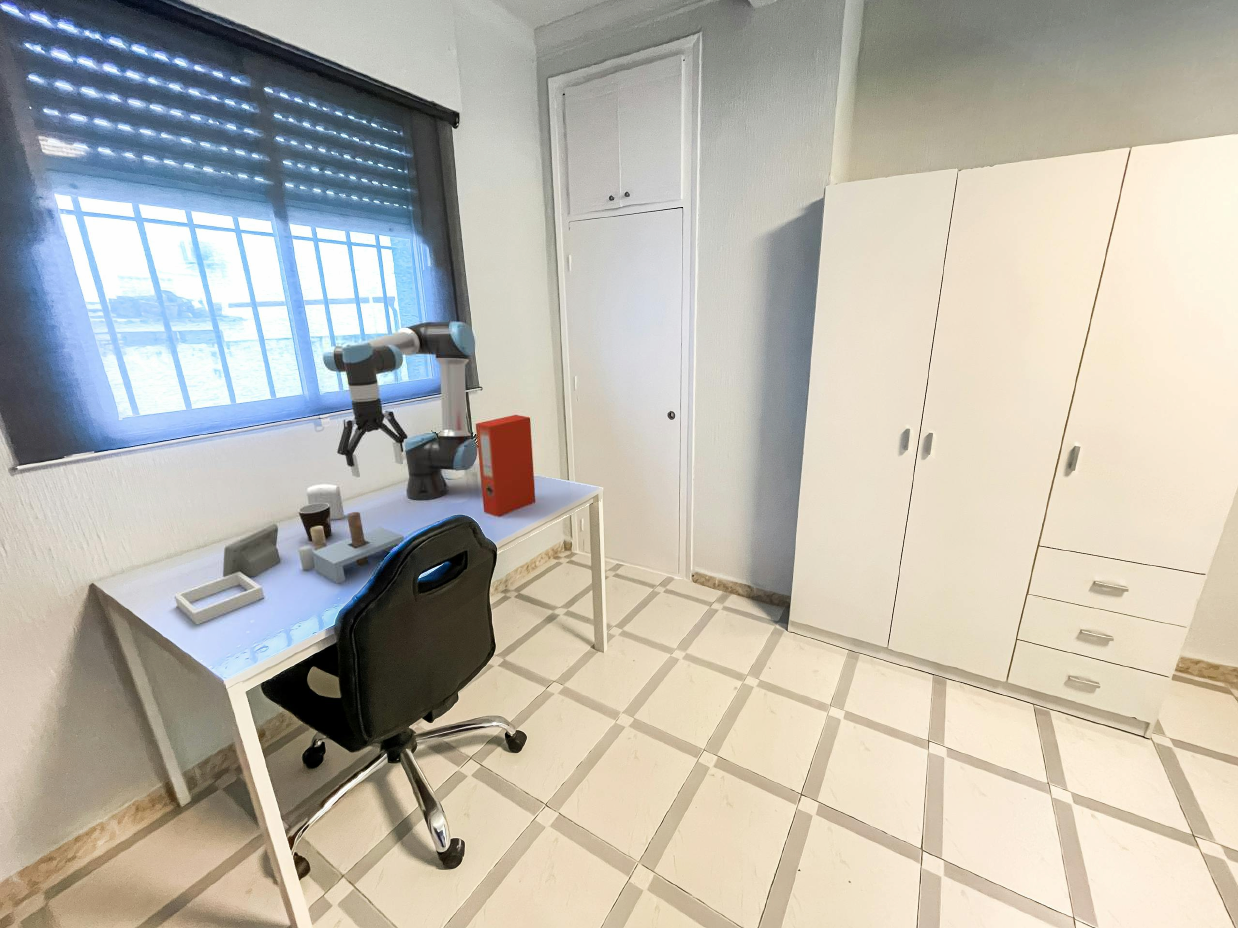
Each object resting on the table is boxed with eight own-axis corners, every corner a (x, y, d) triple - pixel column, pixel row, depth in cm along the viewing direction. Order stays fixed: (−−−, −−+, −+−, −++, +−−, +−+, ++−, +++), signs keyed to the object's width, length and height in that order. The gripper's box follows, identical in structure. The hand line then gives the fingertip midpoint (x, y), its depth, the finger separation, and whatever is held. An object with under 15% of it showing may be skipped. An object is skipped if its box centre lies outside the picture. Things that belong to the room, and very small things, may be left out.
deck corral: (242, 581, 138) (239, 571, 137) (264, 597, 130) (261, 586, 130) (177, 605, 128) (173, 594, 127) (197, 624, 120) (193, 613, 119)
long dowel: (364, 559, 149) (355, 511, 145) (370, 562, 148) (362, 513, 143) (353, 563, 147) (344, 514, 142) (359, 566, 145) (350, 517, 141)
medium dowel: (325, 552, 154) (319, 524, 151) (330, 555, 152) (324, 527, 149) (314, 556, 151) (308, 528, 149) (319, 559, 150) (313, 531, 147)
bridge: (383, 544, 158) (380, 526, 157) (406, 554, 152) (403, 536, 150) (316, 571, 143) (311, 551, 141) (337, 583, 136) (333, 563, 134)
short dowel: (312, 563, 147) (308, 544, 146) (317, 566, 146) (313, 547, 144) (300, 568, 145) (296, 548, 143) (305, 571, 143) (301, 551, 141)
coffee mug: (321, 543, 160) (315, 513, 157) (298, 541, 161) (291, 512, 158) (347, 528, 170) (342, 500, 168) (325, 526, 172) (319, 498, 169)
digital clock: (274, 553, 154) (266, 520, 151) (294, 558, 151) (287, 524, 148) (215, 578, 140) (205, 543, 137) (236, 585, 137) (226, 548, 133)
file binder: (536, 502, 190) (530, 417, 180) (498, 517, 177) (490, 426, 168) (521, 497, 195) (514, 414, 185) (484, 512, 182) (475, 423, 172)
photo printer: (346, 515, 182) (340, 481, 178) (341, 519, 178) (335, 486, 174) (315, 517, 180) (308, 483, 177) (310, 521, 176) (302, 487, 173)
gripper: (398, 390, 157) (408, 456, 164) (313, 405, 138) (329, 479, 145) (412, 392, 153) (423, 460, 160) (327, 408, 134) (343, 484, 141)
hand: (378, 469), depth 153 cm, fingers open, 13 cm apart
